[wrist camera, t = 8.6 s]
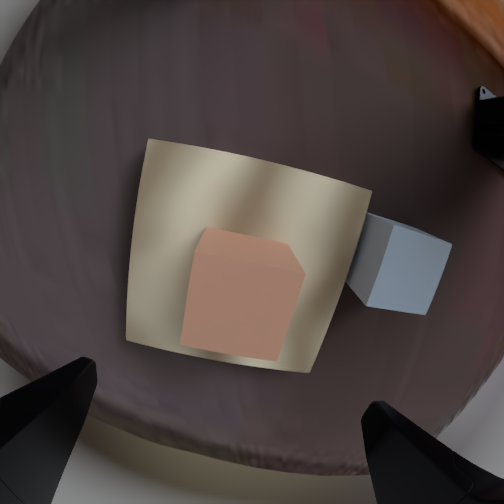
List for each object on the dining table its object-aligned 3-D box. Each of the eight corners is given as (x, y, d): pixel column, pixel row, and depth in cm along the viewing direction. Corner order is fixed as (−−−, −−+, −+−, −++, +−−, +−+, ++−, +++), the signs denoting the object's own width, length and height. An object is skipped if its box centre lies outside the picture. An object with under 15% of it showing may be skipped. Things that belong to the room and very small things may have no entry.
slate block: (413, 227, 20) (452, 244, 15) (393, 286, 21) (425, 315, 17) (360, 210, 20) (393, 224, 15) (340, 275, 21) (365, 306, 16)
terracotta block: (287, 244, 18) (305, 273, 13) (267, 315, 19) (276, 361, 14) (206, 226, 17) (194, 251, 12) (193, 301, 19) (180, 344, 14)
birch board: (360, 188, 19) (372, 190, 17) (304, 357, 23) (309, 373, 21) (157, 141, 17) (148, 138, 16) (133, 326, 21) (125, 339, 19)
